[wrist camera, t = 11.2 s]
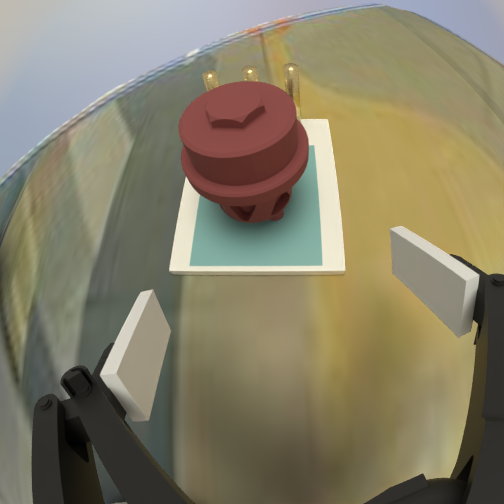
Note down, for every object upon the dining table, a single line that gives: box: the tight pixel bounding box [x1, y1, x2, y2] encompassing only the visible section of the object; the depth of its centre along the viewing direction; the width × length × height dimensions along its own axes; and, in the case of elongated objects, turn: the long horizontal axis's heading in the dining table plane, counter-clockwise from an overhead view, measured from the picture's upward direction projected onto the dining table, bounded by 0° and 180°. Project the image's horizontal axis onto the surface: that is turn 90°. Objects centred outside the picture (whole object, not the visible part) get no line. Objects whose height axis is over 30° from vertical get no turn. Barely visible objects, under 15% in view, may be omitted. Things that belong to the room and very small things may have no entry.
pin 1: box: [202, 70, 220, 91], centre depth 30 cm, size 1×1×9 cm
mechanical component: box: [179, 81, 309, 223], centre depth 24 cm, size 12×10×10 cm
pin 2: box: [242, 66, 259, 82], centre depth 30 cm, size 1×1×9 cm
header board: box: [169, 119, 345, 275], centre depth 31 cm, size 16×19×1 cm
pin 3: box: [283, 63, 301, 123], centre depth 29 cm, size 1×1×9 cm
